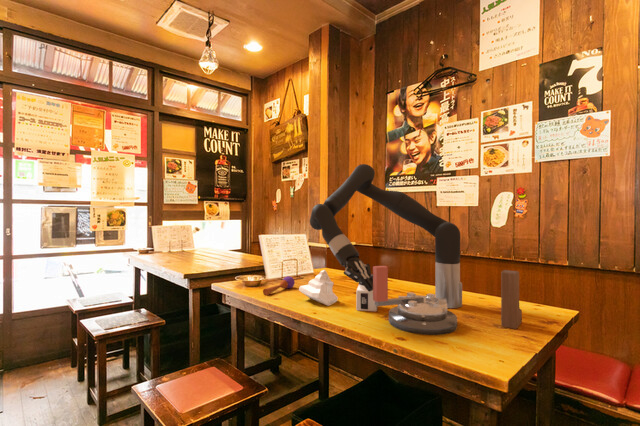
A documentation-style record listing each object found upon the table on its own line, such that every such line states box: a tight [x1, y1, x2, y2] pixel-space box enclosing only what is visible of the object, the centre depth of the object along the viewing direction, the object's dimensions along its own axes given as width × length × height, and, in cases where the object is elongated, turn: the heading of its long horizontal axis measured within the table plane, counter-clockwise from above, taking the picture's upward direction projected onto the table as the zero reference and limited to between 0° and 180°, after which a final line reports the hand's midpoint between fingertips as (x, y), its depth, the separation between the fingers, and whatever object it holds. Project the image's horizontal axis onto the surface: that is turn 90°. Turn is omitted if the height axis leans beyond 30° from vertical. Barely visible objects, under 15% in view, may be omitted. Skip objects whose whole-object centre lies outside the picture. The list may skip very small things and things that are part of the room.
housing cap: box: [388, 305, 458, 336], centre depth 112 cm, size 22×22×3 cm
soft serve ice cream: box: [298, 269, 339, 307], centre depth 140 cm, size 12×15×14 cm
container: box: [355, 274, 378, 312], centre depth 130 cm, size 8×8×13 cm
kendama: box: [262, 276, 296, 296], centre depth 158 cm, size 6×6×20 cm
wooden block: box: [500, 269, 523, 330], centre depth 111 cm, size 9×4×18 cm, turn 140°
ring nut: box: [372, 265, 448, 321], centre depth 111 cm, size 26×16×16 cm, turn 107°
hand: (372, 289), depth 111 cm, fingers closed
